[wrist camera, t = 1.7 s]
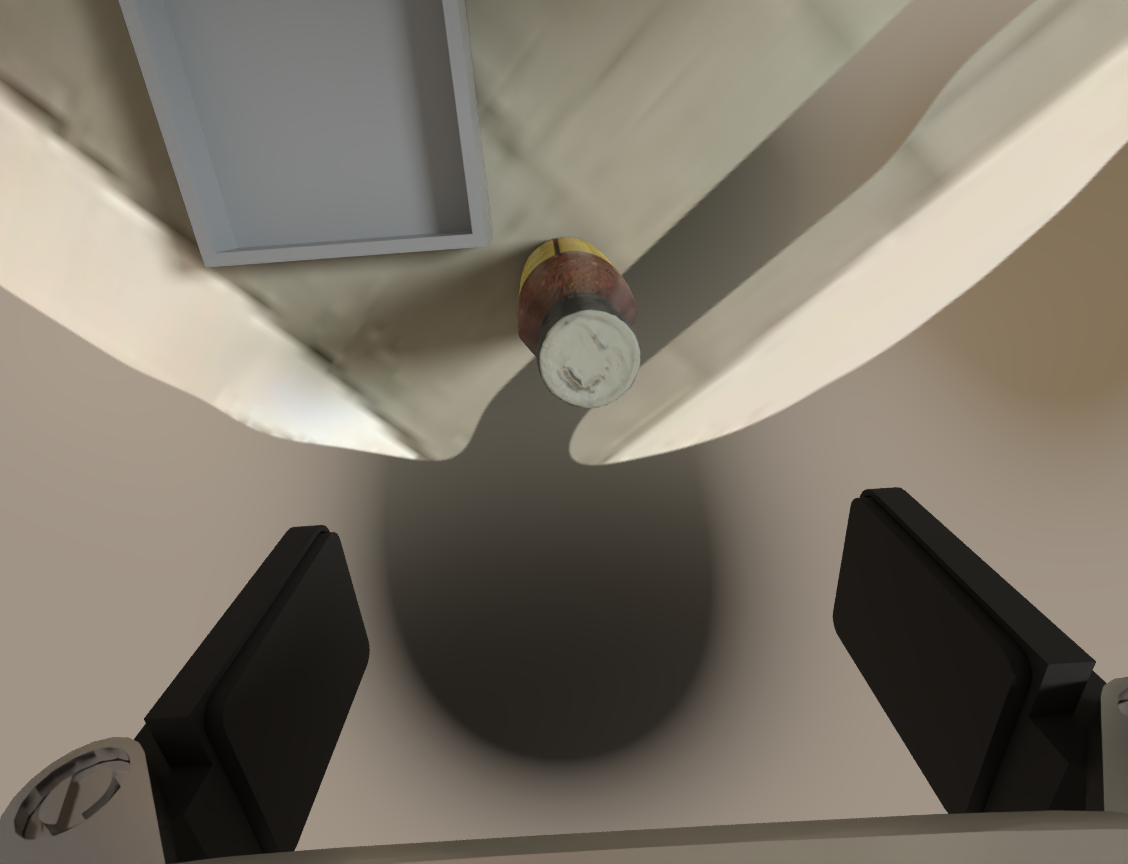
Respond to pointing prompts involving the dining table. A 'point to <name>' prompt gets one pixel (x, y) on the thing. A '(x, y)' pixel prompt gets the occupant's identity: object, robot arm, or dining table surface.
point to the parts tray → (317, 124)
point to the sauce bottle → (578, 322)
